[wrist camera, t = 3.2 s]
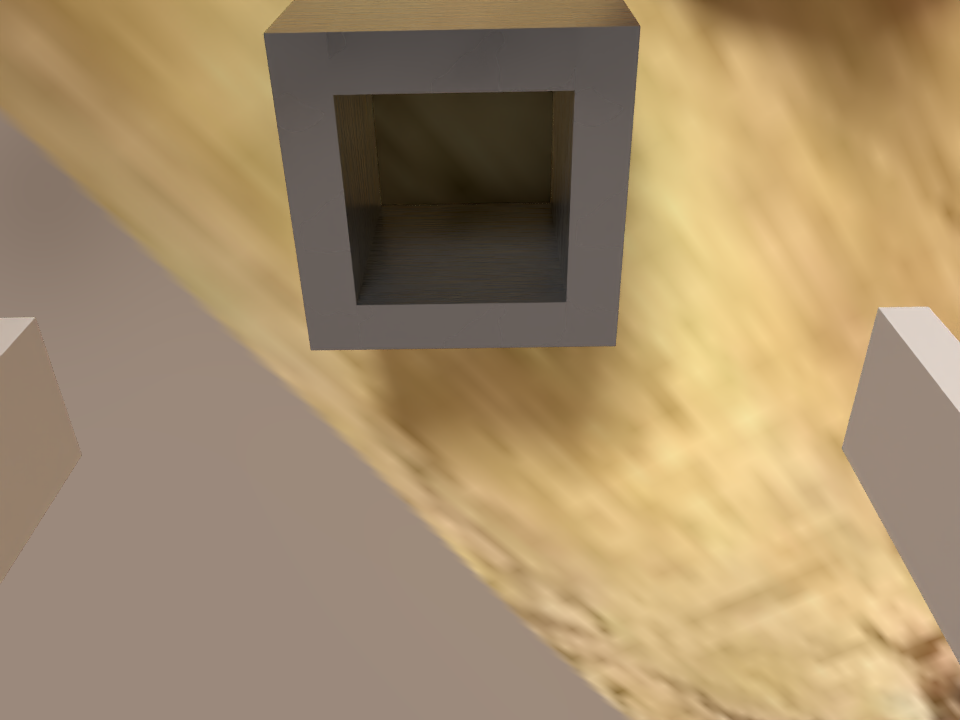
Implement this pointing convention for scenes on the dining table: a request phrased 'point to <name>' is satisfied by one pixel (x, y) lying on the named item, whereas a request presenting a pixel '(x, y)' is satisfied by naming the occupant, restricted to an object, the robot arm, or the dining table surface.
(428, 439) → the dining table surface
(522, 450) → the dining table surface
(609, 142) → the hollow square box
